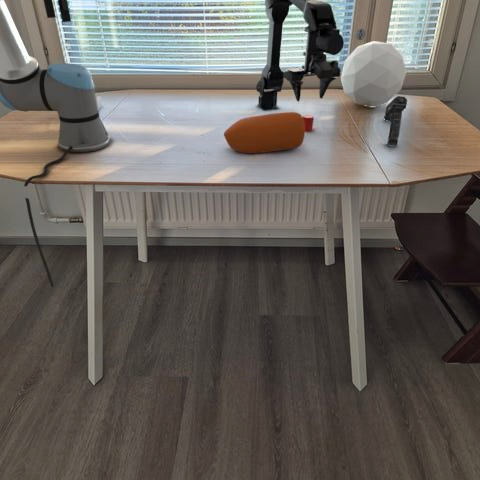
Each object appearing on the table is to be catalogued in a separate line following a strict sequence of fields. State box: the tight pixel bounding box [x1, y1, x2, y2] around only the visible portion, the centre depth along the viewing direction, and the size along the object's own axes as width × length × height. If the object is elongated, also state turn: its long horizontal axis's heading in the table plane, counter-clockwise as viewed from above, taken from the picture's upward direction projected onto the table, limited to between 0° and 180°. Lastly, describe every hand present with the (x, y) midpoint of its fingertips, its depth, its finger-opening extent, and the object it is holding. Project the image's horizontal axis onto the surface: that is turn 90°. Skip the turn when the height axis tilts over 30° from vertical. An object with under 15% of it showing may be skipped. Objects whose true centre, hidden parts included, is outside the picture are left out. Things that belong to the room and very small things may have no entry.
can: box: [302, 113, 315, 133], centre depth 141 cm, size 4×4×5 cm
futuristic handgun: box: [383, 95, 408, 147], centre depth 138 cm, size 4×29×15 cm, turn 164°
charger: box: [96, 94, 103, 111], centre depth 158 cm, size 5×9×15 cm
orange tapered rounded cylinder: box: [223, 111, 306, 154], centre depth 125 cm, size 12×11×25 cm
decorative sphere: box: [340, 40, 408, 109], centre depth 161 cm, size 24×25×25 cm
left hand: (59, 19), depth 139 cm, fingers open, 13 cm apart
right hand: (309, 99), depth 137 cm, fingers open, 9 cm apart
